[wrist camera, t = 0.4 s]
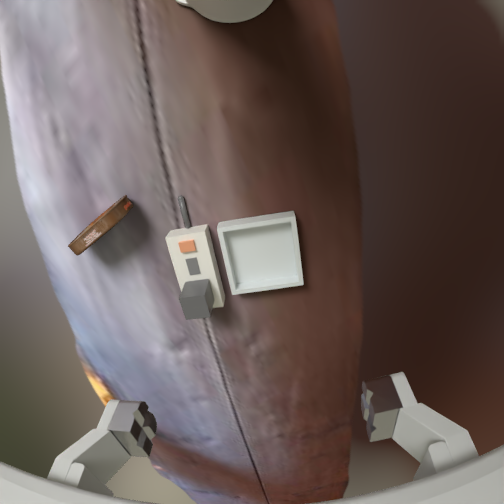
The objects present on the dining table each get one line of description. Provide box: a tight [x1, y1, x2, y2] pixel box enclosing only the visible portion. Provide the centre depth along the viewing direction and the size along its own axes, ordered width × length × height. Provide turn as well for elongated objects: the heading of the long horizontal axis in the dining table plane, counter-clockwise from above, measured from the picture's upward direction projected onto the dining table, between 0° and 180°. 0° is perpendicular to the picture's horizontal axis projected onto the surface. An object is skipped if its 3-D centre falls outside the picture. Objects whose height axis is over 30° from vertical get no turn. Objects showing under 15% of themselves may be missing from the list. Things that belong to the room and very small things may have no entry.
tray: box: [217, 211, 304, 295], centre depth 57 cm, size 13×13×3 cm
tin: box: [68, 195, 133, 255], centre depth 53 cm, size 15×3×8 cm, turn 123°
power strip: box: [166, 196, 225, 308], centre depth 57 cm, size 21×7×4 cm, turn 10°
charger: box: [179, 279, 215, 320], centre depth 56 cm, size 4×4×7 cm
